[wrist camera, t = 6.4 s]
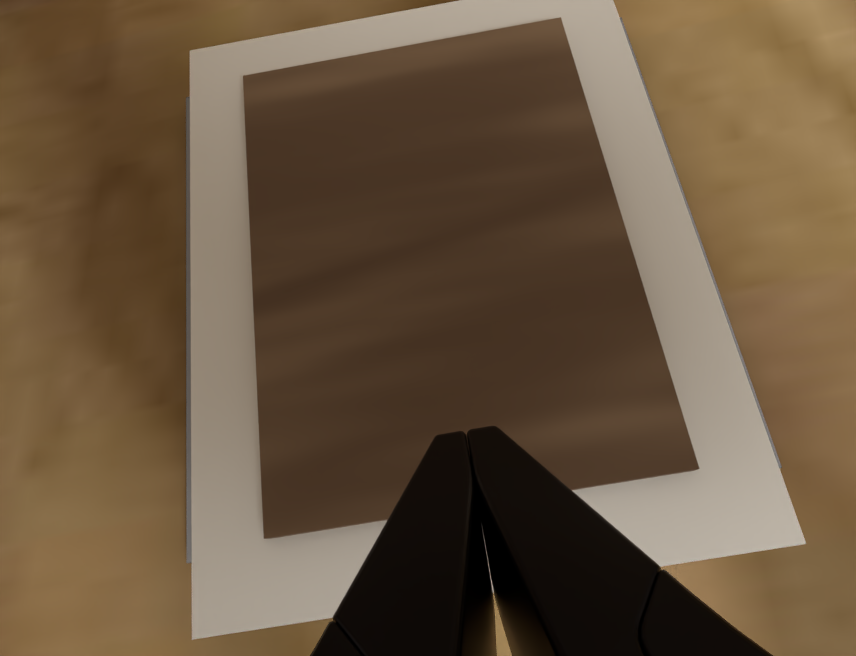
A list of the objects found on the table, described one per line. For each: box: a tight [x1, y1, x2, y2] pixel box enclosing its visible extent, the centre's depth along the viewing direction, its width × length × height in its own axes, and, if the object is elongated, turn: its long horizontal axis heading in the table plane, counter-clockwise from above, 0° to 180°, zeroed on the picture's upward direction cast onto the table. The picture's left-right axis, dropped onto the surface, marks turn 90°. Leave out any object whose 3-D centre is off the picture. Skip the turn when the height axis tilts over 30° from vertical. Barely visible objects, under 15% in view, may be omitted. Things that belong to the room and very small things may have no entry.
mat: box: [186, 17, 782, 563], centre depth 19 cm, size 16×16×1 cm
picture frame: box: [190, 0, 806, 640], centre depth 15 cm, size 5×11×14 cm
